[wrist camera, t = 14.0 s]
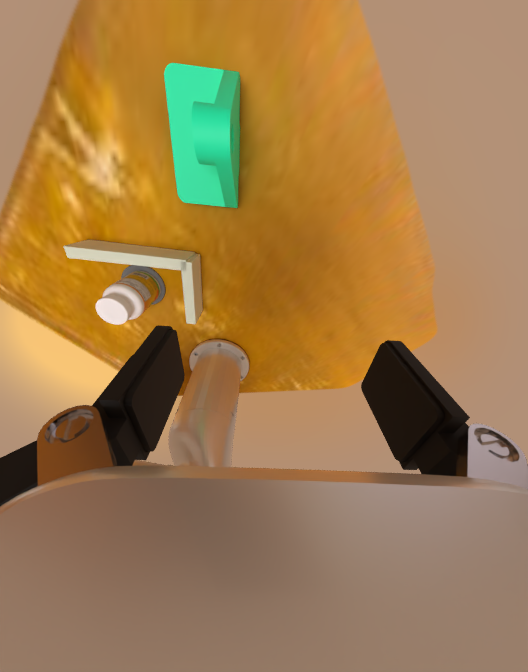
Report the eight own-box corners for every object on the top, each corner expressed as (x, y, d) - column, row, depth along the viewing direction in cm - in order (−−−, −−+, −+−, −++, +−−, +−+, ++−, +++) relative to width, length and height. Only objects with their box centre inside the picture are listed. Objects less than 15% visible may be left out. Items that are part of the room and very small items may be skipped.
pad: (167, 305, 39) (167, 306, 39) (127, 301, 38) (126, 302, 38) (162, 267, 35) (161, 267, 35) (117, 262, 35) (116, 262, 34)
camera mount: (171, 73, 24) (120, 6, 15) (241, 82, 24) (229, 22, 16) (184, 201, 30) (154, 204, 22) (238, 206, 31) (229, 212, 22)
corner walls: (202, 310, 40) (195, 324, 35) (107, 301, 38) (89, 314, 34) (200, 252, 34) (191, 260, 30) (88, 239, 33) (63, 246, 29)
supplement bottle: (142, 304, 38) (110, 334, 30) (121, 277, 36) (79, 302, 28) (167, 294, 37) (141, 321, 29) (147, 264, 35) (112, 286, 27)
